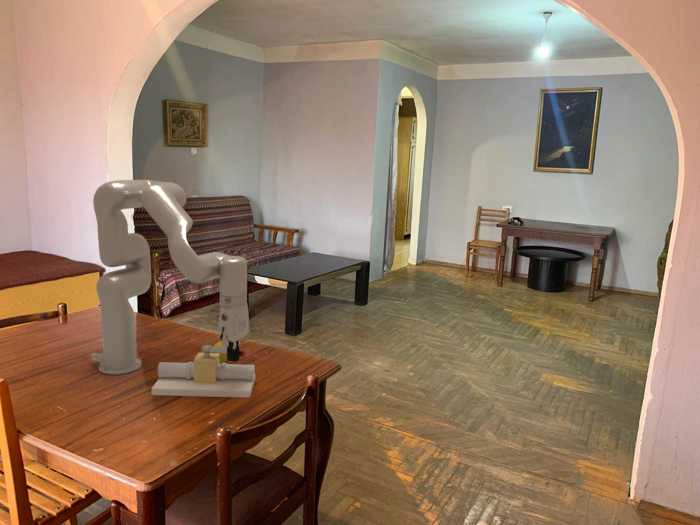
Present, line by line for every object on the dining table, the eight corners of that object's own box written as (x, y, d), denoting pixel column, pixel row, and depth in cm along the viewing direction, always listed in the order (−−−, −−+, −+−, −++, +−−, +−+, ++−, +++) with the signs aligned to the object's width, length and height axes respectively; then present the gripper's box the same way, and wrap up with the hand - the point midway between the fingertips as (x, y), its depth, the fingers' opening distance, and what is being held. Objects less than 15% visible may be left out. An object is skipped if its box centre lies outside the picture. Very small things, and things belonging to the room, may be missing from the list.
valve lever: (199, 352, 159) (199, 346, 159) (204, 349, 162) (204, 343, 162) (246, 357, 157) (246, 352, 157) (249, 354, 160) (250, 348, 160)
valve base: (151, 395, 154) (150, 360, 152) (164, 377, 166) (163, 345, 164) (249, 397, 156) (249, 363, 153) (255, 380, 167) (255, 348, 165)
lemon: (225, 368, 175) (225, 345, 174) (209, 366, 176) (209, 343, 175) (232, 362, 181) (232, 339, 179) (216, 360, 182) (216, 337, 180)
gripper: (231, 308, 144) (231, 372, 148) (257, 295, 158) (256, 353, 162) (207, 304, 146) (207, 367, 150) (234, 292, 160) (234, 349, 164)
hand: (233, 360), depth 156 cm, fingers closed
